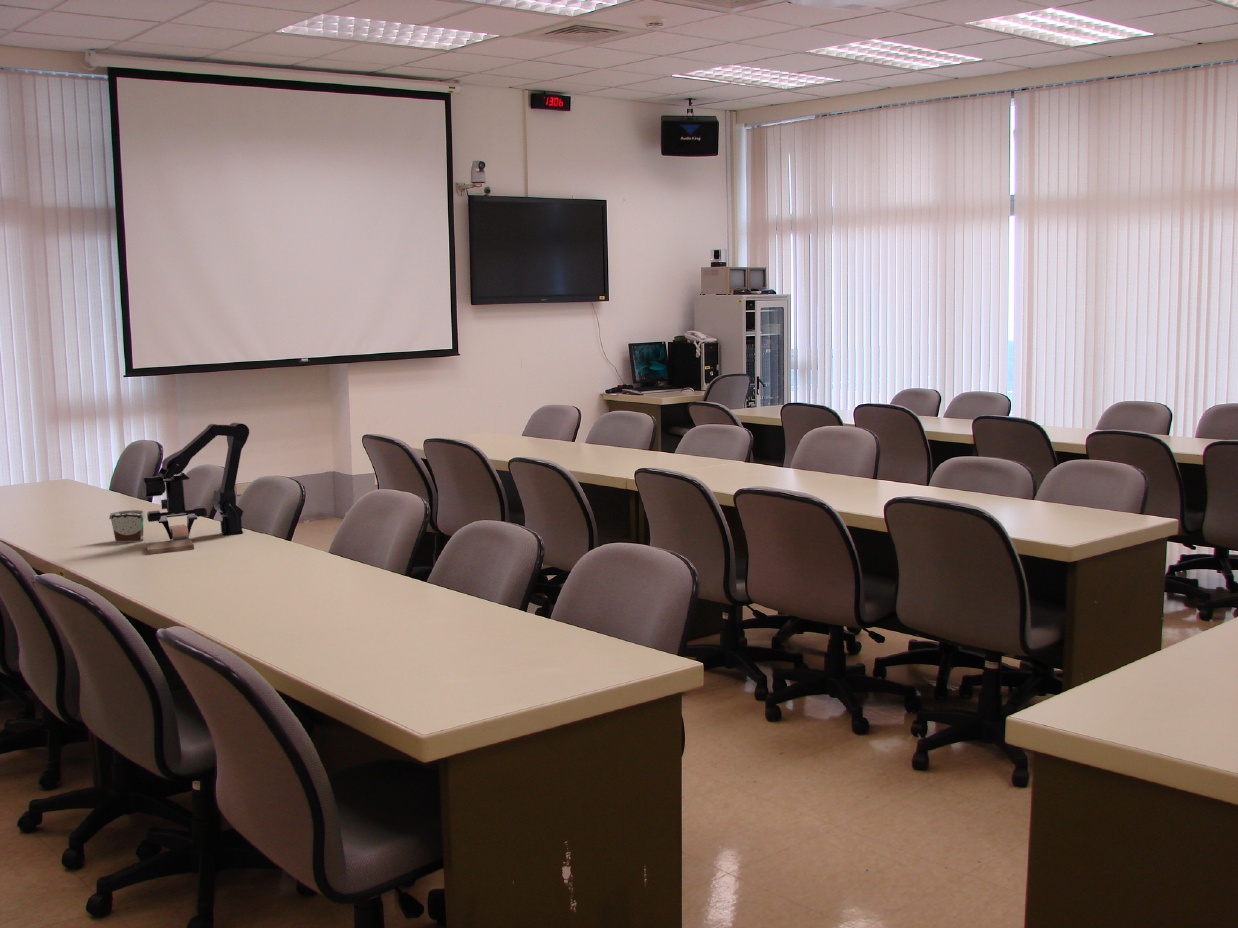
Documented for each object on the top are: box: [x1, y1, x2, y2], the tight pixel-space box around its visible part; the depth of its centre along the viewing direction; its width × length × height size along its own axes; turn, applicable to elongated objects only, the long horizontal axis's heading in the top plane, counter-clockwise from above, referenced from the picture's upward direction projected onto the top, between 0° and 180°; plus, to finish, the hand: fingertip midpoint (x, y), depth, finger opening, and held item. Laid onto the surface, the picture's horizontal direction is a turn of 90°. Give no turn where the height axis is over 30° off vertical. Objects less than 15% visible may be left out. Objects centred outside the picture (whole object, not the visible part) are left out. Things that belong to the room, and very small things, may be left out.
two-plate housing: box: [169, 524, 190, 541], centre depth 375 cm, size 5×8×5 cm, turn 31°
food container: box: [109, 509, 146, 543], centre depth 380 cm, size 12×6×10 cm, turn 84°
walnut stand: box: [145, 538, 195, 555], centre depth 364 cm, size 14×11×2 cm
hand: (179, 538), depth 376 cm, fingers closed on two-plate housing, 5 cm apart
